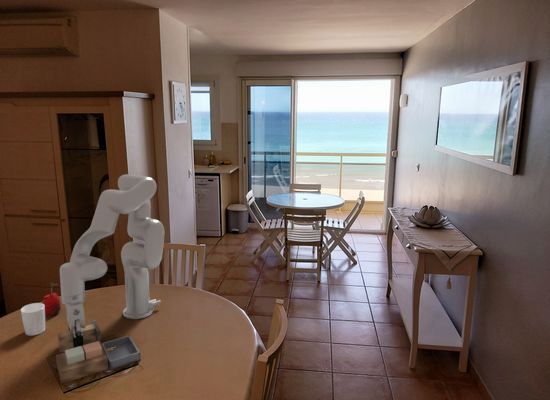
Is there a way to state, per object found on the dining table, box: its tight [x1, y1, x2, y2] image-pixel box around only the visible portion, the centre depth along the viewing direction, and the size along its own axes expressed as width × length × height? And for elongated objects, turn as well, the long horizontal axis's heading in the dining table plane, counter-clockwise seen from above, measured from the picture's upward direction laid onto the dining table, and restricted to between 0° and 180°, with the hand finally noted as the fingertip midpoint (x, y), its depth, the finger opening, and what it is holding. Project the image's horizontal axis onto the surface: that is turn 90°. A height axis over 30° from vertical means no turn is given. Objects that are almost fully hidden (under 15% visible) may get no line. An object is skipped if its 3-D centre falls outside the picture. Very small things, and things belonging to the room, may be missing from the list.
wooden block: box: [55, 342, 109, 384], centre depth 134 cm, size 14×11×4 cm
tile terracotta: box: [82, 341, 102, 359], centre depth 135 cm, size 5×5×2 cm
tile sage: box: [64, 346, 85, 365], centre depth 132 cm, size 5×5×2 cm
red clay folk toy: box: [41, 281, 62, 317], centre depth 167 cm, size 8×7×15 cm
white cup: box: [20, 302, 46, 337], centre depth 154 cm, size 8×8×10 cm
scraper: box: [57, 319, 102, 354], centre depth 146 cm, size 13×9×6 cm
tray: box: [101, 335, 141, 371], centre depth 141 cm, size 10×13×3 cm
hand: (76, 340), depth 146 cm, fingers open, 9 cm apart
